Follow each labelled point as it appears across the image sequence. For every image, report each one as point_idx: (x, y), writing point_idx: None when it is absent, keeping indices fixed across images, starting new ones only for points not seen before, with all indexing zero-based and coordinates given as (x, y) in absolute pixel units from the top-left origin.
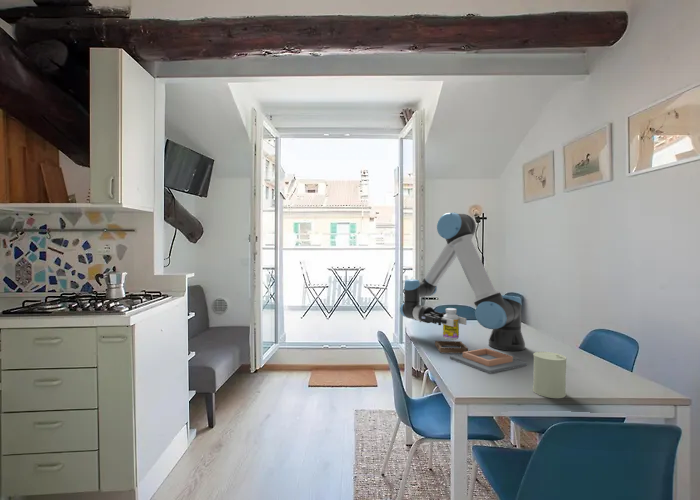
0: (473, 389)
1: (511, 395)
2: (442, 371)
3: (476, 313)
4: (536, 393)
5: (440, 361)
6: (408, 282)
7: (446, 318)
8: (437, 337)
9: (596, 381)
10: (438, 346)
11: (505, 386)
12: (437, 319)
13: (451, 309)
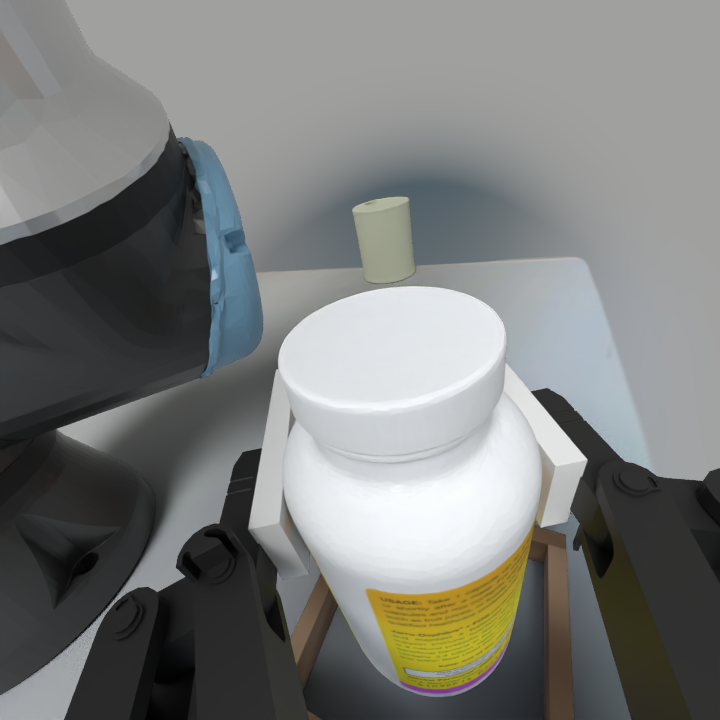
0: (534, 273)
1: (466, 264)
2: (599, 335)
3: (253, 264)
4: (415, 269)
5: (590, 412)
6: None
7: (516, 390)
8: None
9: (261, 298)
10: (568, 627)
11: (452, 282)
12: (676, 481)
13: (406, 306)
